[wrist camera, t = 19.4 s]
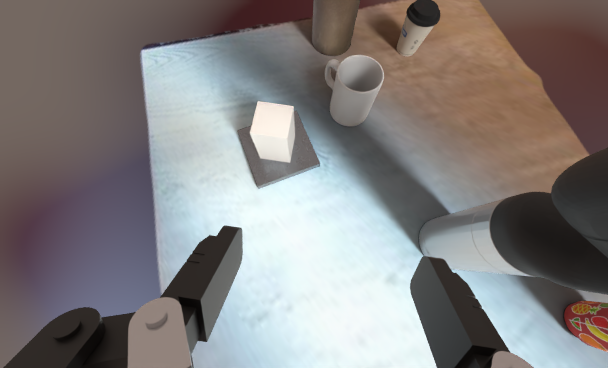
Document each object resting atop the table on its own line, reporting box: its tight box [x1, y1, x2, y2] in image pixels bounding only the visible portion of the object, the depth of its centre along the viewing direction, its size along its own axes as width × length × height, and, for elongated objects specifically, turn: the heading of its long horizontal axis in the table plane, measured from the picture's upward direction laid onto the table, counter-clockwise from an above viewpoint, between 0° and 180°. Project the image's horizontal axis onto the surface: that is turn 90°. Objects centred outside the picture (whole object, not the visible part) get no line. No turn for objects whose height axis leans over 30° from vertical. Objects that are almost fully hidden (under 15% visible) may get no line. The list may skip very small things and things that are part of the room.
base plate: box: [238, 111, 320, 189], centre depth 45 cm, size 13×13×8 cm
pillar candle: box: [312, 0, 360, 56], centre depth 51 cm, size 10×10×15 cm
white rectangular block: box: [250, 101, 295, 163], centre depth 43 cm, size 6×6×10 cm
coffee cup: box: [396, 0, 440, 56], centre depth 52 cm, size 7×7×10 cm
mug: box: [325, 55, 384, 127], centre depth 47 cm, size 12×8×11 cm
